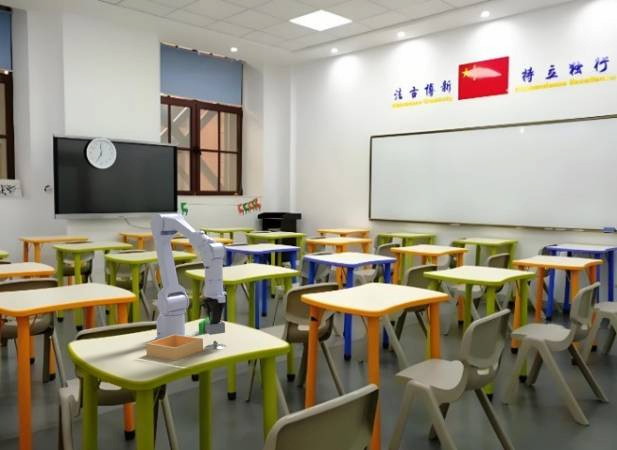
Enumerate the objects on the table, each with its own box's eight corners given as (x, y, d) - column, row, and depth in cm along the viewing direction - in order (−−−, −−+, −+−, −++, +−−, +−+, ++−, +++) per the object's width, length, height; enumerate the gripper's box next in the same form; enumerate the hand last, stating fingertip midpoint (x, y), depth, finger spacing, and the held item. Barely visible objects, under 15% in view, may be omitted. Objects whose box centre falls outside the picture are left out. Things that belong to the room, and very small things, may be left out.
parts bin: (146, 356, 156) (146, 343, 156) (174, 346, 167) (174, 334, 167) (175, 361, 150) (175, 348, 150) (203, 350, 161) (202, 338, 161)
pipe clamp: (209, 336, 181) (208, 323, 181) (199, 335, 181) (198, 323, 181) (218, 328, 192) (217, 316, 192) (208, 328, 193) (208, 316, 192)
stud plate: (200, 349, 163) (199, 342, 163) (214, 344, 169) (214, 337, 169) (217, 352, 159) (216, 344, 159) (230, 346, 166) (230, 339, 165)
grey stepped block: (210, 334, 161) (209, 313, 161) (205, 331, 165) (204, 311, 165) (225, 332, 163) (224, 311, 163) (220, 329, 167) (219, 309, 167)
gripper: (234, 281, 159) (234, 324, 160) (217, 276, 172) (218, 315, 172) (212, 283, 156) (213, 327, 156) (197, 277, 168) (198, 318, 169)
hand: (214, 321), depth 164 cm, fingers closed on grey stepped block, 3 cm apart
